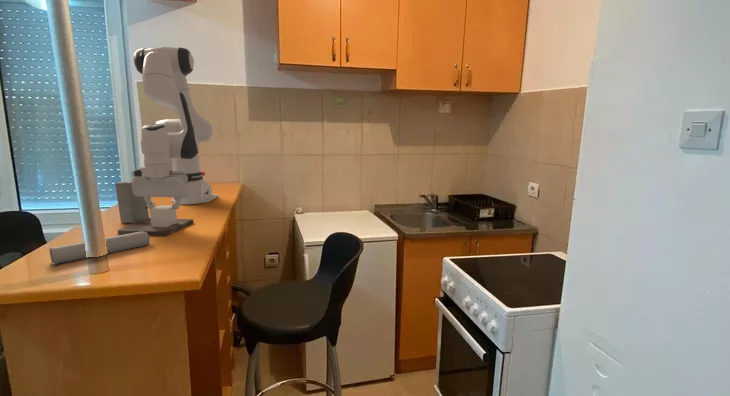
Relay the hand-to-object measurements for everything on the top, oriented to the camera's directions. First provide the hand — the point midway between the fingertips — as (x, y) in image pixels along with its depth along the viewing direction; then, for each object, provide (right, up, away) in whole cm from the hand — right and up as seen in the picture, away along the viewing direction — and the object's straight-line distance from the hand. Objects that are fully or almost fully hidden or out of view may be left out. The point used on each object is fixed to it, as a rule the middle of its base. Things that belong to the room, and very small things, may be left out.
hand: (163, 208), depth 142 cm
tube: (-5, -13, -24) cm, 28 cm away
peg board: (-3, -7, +1) cm, 8 cm away
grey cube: (0, -6, +1) cm, 6 cm away
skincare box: (-18, -5, +12) cm, 22 cm away
